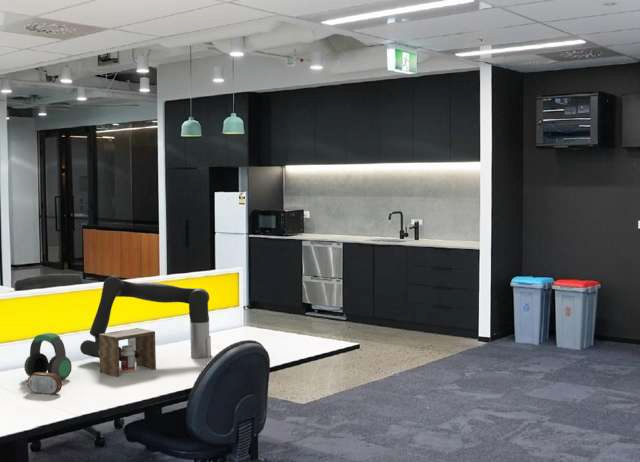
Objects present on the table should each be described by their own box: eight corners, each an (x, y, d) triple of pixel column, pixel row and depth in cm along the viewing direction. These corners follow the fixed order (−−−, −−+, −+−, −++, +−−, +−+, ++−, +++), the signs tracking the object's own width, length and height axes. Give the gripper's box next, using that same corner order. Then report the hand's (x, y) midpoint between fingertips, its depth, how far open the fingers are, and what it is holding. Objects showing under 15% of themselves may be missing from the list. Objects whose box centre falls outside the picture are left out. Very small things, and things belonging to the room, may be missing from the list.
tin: (62, 393, 323) (62, 373, 323) (57, 395, 320) (57, 374, 320) (31, 391, 328) (31, 371, 328) (26, 393, 325) (26, 372, 325)
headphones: (74, 378, 351) (72, 332, 350) (56, 383, 341) (54, 337, 340) (41, 374, 359) (39, 330, 358) (22, 380, 349) (21, 334, 348)
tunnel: (100, 372, 361) (98, 334, 360) (138, 365, 376) (137, 328, 375) (117, 377, 352) (116, 337, 351) (155, 369, 367) (154, 331, 366)
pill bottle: (118, 371, 364) (117, 346, 363) (129, 368, 368) (129, 344, 368) (126, 373, 360) (126, 348, 359) (137, 370, 364) (137, 345, 364)
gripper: (96, 347, 368) (116, 351, 357) (123, 342, 378) (143, 346, 367) (97, 363, 368) (116, 368, 357) (123, 358, 379) (143, 362, 368)
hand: (130, 357), depth 362 cm, fingers open, 8 cm apart
